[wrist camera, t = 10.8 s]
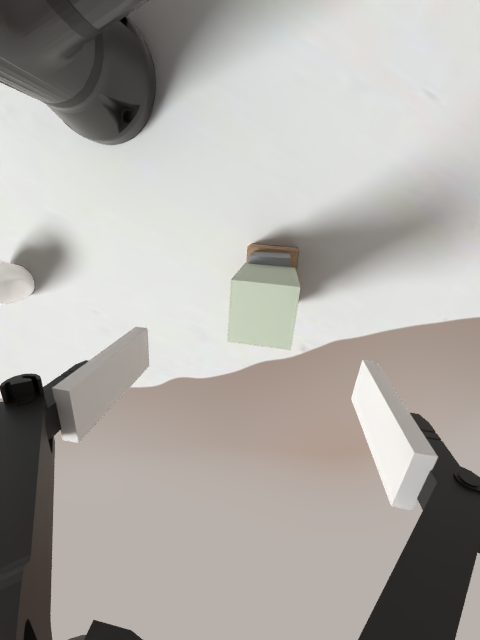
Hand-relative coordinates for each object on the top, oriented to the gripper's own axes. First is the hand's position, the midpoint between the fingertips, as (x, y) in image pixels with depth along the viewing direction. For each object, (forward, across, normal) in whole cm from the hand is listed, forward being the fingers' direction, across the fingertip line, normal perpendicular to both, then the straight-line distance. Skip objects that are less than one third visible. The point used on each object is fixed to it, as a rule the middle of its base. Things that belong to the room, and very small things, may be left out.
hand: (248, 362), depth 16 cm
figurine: (+28, -46, -6) cm, 54 cm away
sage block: (+18, 0, 0) cm, 18 cm away
